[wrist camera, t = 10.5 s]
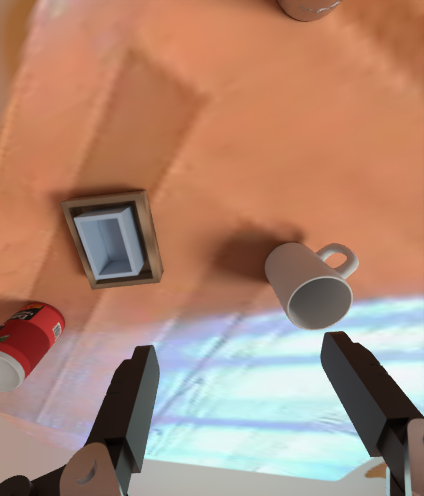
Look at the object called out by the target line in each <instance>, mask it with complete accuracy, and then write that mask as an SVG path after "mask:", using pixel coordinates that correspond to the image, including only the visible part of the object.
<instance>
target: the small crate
mask: <svg viewBox="0 0 424 496" xmlns="http://www.w3.org/2000/svg"><path fill="white" fill-rule="evenodd" d="M74 221H75V224H76V226H77V229H78V232H79V235H80V237H81V240H82V243H83V246H84V249H85V251H86V254H87V257H88V260H89V262H90V265H91V268H92V271H93V274H94V276H95V279H96V280H98V279H107V278H116V277H125V276H134V275H138V274H139V272H140V270H141V268H142V266H143V265H144V263H145V261H146V257H145V253H144V249H143V245H142V241H141V236H140V232H139V228H138V224H137V220H136V216H135V212H134V208H133V205H125V206H117V207H108V208H99V209H92V210H90V211H88V212H85V213H83V214H81V215H79V216H77V217H75V218H74Z"/></svg>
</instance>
